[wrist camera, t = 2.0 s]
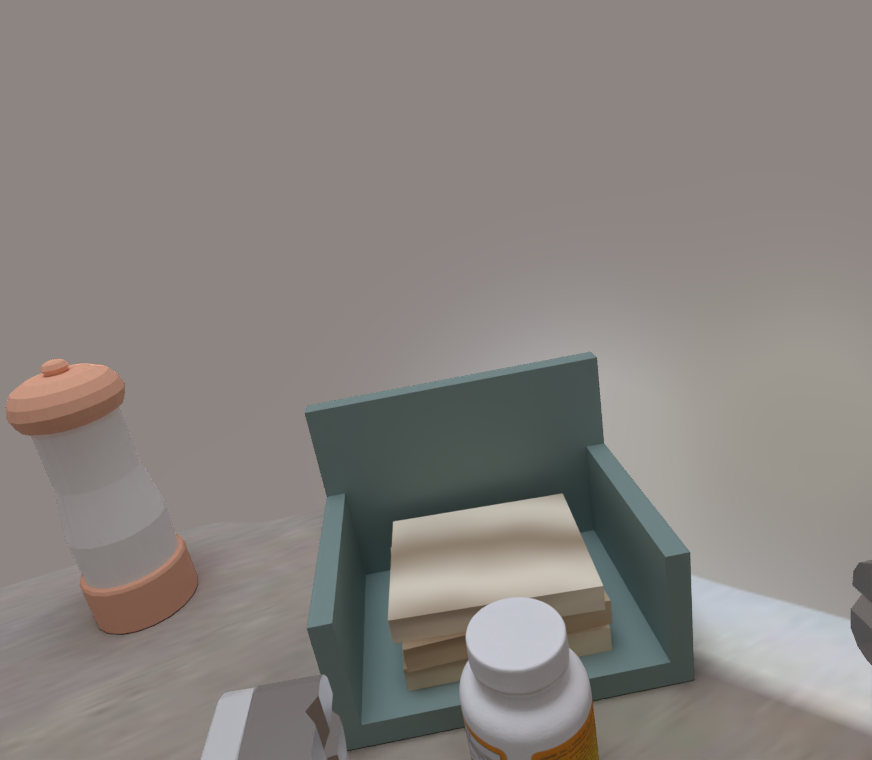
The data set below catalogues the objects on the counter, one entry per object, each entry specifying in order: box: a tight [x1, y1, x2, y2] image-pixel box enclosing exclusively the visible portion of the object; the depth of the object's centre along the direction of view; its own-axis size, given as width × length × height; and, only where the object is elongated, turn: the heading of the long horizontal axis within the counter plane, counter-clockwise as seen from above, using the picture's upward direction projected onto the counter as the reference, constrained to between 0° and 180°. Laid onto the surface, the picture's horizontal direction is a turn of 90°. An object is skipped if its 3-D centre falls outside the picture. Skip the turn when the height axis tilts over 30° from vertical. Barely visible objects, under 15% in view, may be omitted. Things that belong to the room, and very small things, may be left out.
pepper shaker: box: [5, 359, 198, 634], centre depth 43 cm, size 7×7×19 cm
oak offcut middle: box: [391, 547, 613, 673], centre depth 36 cm, size 9×11×2 cm
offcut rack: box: [305, 352, 694, 751], centre depth 36 cm, size 13×18×14 cm
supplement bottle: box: [459, 597, 599, 760], centre depth 26 cm, size 5×5×10 cm
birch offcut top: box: [388, 493, 605, 644], centre depth 36 cm, size 9×11×2 cm
